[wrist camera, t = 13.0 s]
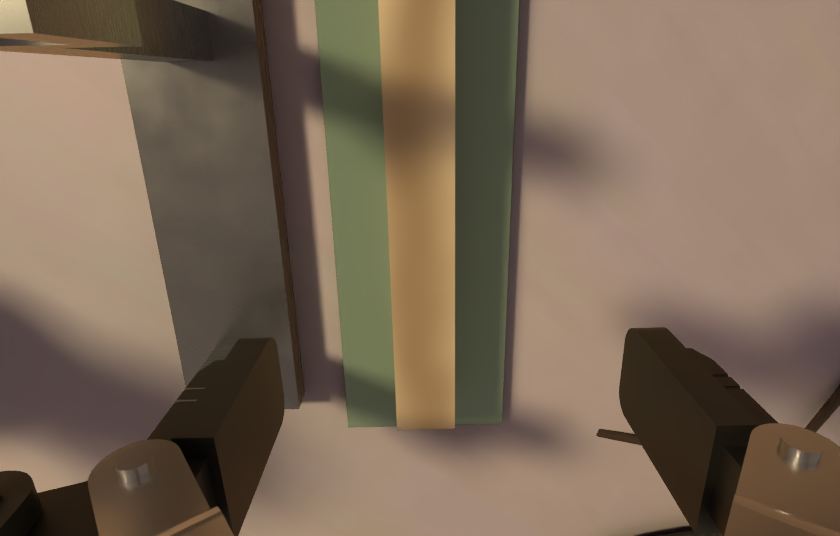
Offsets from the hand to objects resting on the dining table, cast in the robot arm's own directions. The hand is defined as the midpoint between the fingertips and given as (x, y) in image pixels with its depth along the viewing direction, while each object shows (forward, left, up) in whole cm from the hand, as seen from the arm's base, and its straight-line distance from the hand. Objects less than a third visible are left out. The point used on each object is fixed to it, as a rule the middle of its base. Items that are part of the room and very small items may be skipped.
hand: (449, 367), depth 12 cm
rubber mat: (0, 0, -16) cm, 16 cm away
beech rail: (0, 0, -15) cm, 15 cm away
